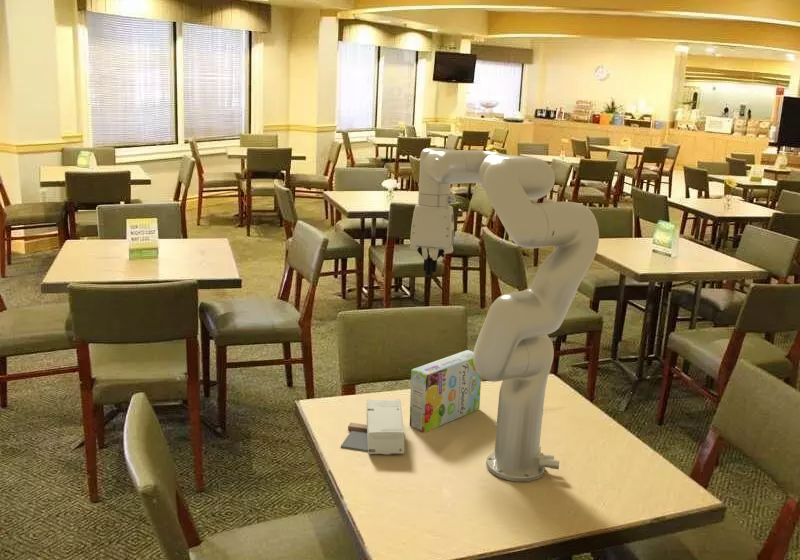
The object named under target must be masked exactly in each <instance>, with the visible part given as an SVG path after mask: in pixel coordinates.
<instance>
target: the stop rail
mask: <svg viewBox="0 0 800 560" xmlns="http://www.w3.org/2000/svg"><path fill="white" fill-rule="evenodd" d="M352 430H356V431H363V432H367V424H365V423H364V424H363V423H356V422H350V423H349V424H348V426H347V431H349V432H351V431H352Z"/></svg>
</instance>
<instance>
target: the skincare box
mask: <svg viewBox="0 0 800 560" xmlns="http://www.w3.org/2000/svg"><path fill="white" fill-rule="evenodd" d="M402 410H403V409H402V403H401V400H400V399H398V398H397V399H366V425H367V438H368V452H367V453H368V455H379V454H381V455H386V454H391V453H393V454H405V429H404V419H403V412H402Z"/></svg>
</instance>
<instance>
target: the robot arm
mask: <svg viewBox="0 0 800 560" xmlns="http://www.w3.org/2000/svg"><path fill="white" fill-rule="evenodd" d="M418 182H419V183H418V197H417V198H418V200H417V204H416V203H415V205H414V206H415V207H414V209H413V216H412V219H411V229H410V237H409V238H410V244H409V250H411V251H415V252H417V253H419V254H420V256H421V257H422V259H423V272H425V273H424V274H425V276H427V277H428V276H430V277H433V276H434V275H435V273H437V270H438V269H437V268H438V259H439V258H440V257H442V255H448V254H452V253H453V252H454V247H453V243H454V240H455V239H454V238H455V237H454V236H455V219H454V218H455V217H454V207H453V206H451V204H455V203H456V201H457V199H456V197H454V196H452V195H451V187H452V186H451V185H455V184H456V185H457V184H480V185H481V187H482V188H483V189H484V191H485V194H486V196H487V198H488V200H489V202H490V204H491V206H492V208H493V209H494V211H495V214H496V215H497V217H498V218H499V220H500V222H501V224H502V226H503V227H504V228H503V229H504V230H505V232H506V233H507V235H508V236H509V238H510V239H511V240H512V242H513V243H514V244H515V245H517V246H518V247H521V248H524V249H532V250H533V249H540V248H548V247H549V248H550V247H555V248H554V249H553V250H552V252H551V253H550V254H549V255H547V257H546V258H545V259H544V260H543V261H542V263H541V264H540V265H539V267H538V270H537V271H536V274H535V277H534V278H533V280H532V283H531V284H530V286H528V288H526V289H523V290H519V291H513V292H508V293H504V294H501V295H500V296H498V297H497V298H496V299H495V300H494V301H493V302H492V303H491V305H490V307H489V308H488V311H487V314H486V317H485V319H484V321H483V323H482V327H481V329H480V331H479V334H478V337H477V339H476V342H475V345H474V348H473V352H474V353H473V362H474V367H475V370H476V372H477V373H478V375H479V376H480V377H481V379H483V380H485V381H487V382H492V383H494V382H495V383H496V382H501V386H499V387H500V388H499V392H498V393H499V394H498V402H497V403H498V404H497V405H498V406H497V415H496V417H497V418H496V422H497V427H496V426H495V427H496V429H495V440H494V441H495V442H494V451H493V452H492V453H490V454H489V455H488V456H487V457H486V464H485V466H486V468H487V469H488V470H489V472H490V473H491V474H493V475H494V476H496V477H498V478H500V479H503V480H507V481H509V482H518V483H519V482H525V483H526V482H531V481H535V480H537V479H540V478H541V477H542V476H543V475H544V474H545V468H547V469H553V470H559V469H560V460H558V459H555V455H553V454H544V452H542V446H540V445H541V437H542V436H541V435H542V425H543V414H544V405H545V397H546V388H547V382H548V378H549V374H550V371H551V368H552V365H553V361H554V354H555V352H554V345H553V342H552V340H551V338H550V337H549V335H550V334H552V333H555V332H556V331H557V330H559V329H560V327H561V325H562V324H563V322H564V320H565V318H566V316H567V313H568V311H569V309H570V306H571V305H572V302H573V300H575V299H574V298H575V296H576V294H577V292H578V289H579V287H580V284H581V283H582V282H583V279H584V277H585V276H586V274H587V272H588V270H589V269H590V267H591V265H592V263H593V261H594V259H595V257H596V254H597V251H598V249H599V242H600V231H599V230H600V229H599V226H598V221H597V219H596V217H595V214H594V213H593V212H592V210H591V209H590V208H589V207H587V205H584V204H582V203H578V202H577V201H576V202H575V201H551V202H550V201H549V202H538V203H537V202H536V203H535V202H534V203H533V202H531V201H535V200H539V199H542V198H544V197H546V196H547V195H548V194H549V193H550V192H551V191H552V189H553V188H554V186H555V182H556V176H555V171H554V169H553V167H552V166H551V165H550V164H549V163H548V162H546V161H545V160H543V159H541V158H537V157H532V156H531V157H530V156H523V155H515V154H514V155H513V154H509V153H508V154H507V153H506V154H505V153H502V152H496V151H487V150H475V149H474V150H471V149H469V150H468V149H467V150H450V149H447V148H444V147H443V148H442V147H441V148H440V147H426V148H424V149H422V151H421V152H420V159H419V181H418ZM431 248H432V249H433V253H432V256H431V254H430V249H431Z"/></svg>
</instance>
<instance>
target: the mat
mask: <svg viewBox="0 0 800 560" xmlns="http://www.w3.org/2000/svg"><path fill="white" fill-rule="evenodd" d="M340 448H341V449H342V448H343V449H349V450H356V451H360V452H361V451H362V452H367V453H368V438H367V432H363V431H356V430H352V431H349V434H348V435H347V436H346V437H345V439H344V441H343V442H342V444H341V445H340ZM385 455H387V456H393V455H394V453H391V454H385Z"/></svg>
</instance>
